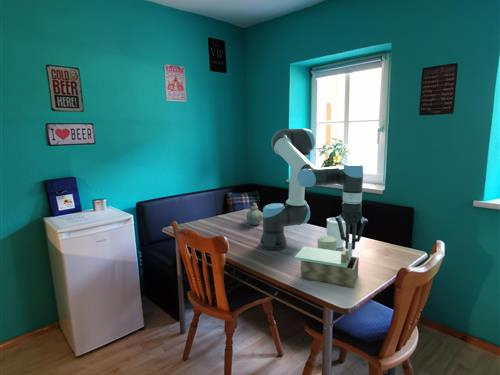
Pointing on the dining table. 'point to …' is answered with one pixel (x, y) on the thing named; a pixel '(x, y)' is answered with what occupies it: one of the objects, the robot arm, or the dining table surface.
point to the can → (327, 242)
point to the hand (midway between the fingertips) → (349, 256)
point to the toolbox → (331, 273)
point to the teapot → (254, 215)
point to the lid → (324, 256)
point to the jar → (335, 231)
